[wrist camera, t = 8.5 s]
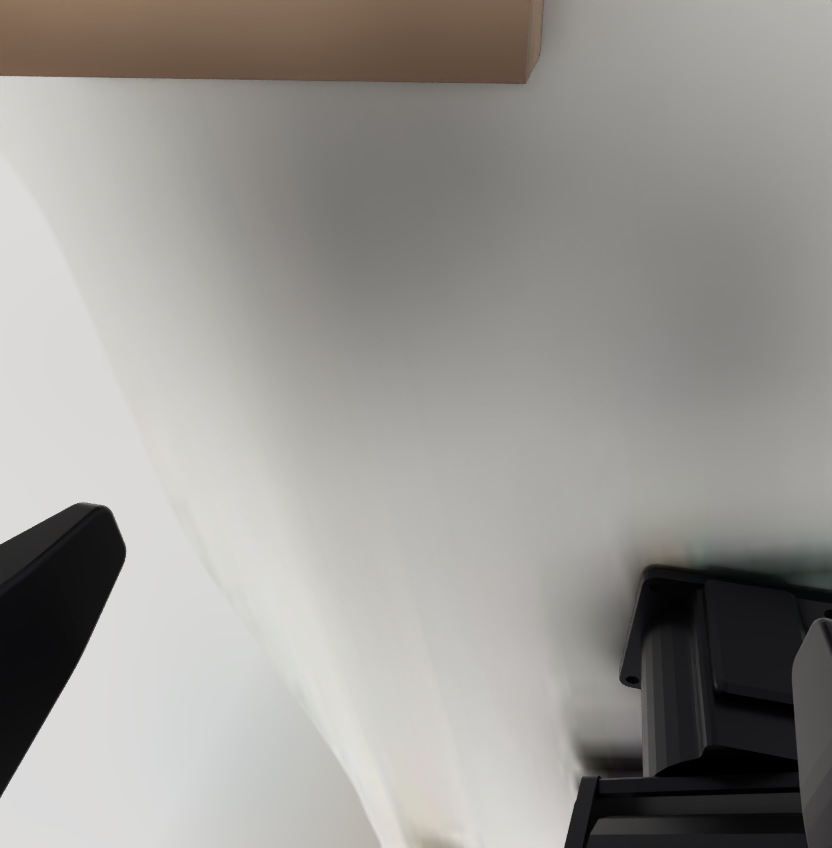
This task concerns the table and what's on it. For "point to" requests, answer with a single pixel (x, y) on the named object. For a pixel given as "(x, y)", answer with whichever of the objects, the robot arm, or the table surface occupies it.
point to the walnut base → (273, 39)
